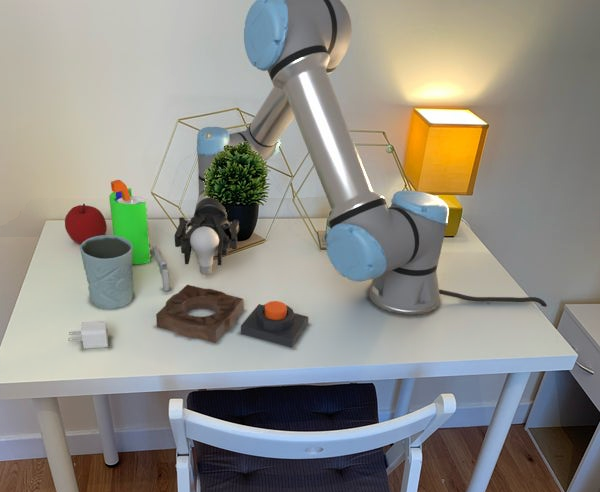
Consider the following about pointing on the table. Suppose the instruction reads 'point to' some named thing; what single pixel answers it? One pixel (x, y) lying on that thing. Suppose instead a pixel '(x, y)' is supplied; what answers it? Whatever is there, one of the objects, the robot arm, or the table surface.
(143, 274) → the table surface
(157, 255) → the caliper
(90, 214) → the apple
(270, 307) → the test button
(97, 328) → the usb wall charger
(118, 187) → the green-shelled ribbed roller
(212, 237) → the lightbulb
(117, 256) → the grey embossed cup
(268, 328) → the black button base
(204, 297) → the bulb stand
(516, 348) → the table surface
